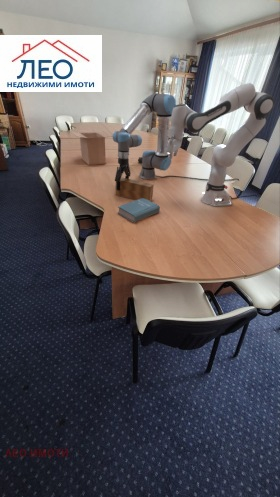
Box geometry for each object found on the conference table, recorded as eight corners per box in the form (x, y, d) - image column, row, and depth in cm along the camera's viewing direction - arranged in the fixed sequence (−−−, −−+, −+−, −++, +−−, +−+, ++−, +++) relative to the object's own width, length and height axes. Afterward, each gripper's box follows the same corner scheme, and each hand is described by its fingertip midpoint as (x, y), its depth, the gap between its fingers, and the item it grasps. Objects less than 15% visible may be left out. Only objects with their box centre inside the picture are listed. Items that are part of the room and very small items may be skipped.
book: (142, 204, 158) (143, 197, 155) (159, 212, 149) (160, 205, 146) (118, 213, 145) (118, 206, 142) (134, 223, 136) (135, 216, 133)
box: (116, 165, 229) (116, 136, 213) (83, 168, 214) (80, 137, 198) (102, 154, 259) (101, 128, 243) (71, 156, 244) (68, 129, 228)
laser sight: (157, 166, 235) (158, 156, 229) (137, 164, 238) (137, 154, 232) (158, 164, 242) (159, 154, 236) (138, 161, 245) (139, 152, 239)
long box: (115, 195, 169) (115, 179, 162) (119, 192, 173) (119, 176, 166) (149, 203, 161) (150, 186, 153) (152, 200, 165) (153, 184, 158)
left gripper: (119, 162, 143) (119, 193, 155) (135, 155, 162) (134, 183, 174) (109, 160, 145) (109, 191, 158) (126, 153, 164) (125, 181, 176)
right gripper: (176, 137, 131) (172, 161, 139) (184, 133, 146) (181, 155, 154) (166, 136, 133) (163, 160, 141) (175, 131, 148) (172, 153, 156)
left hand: (122, 187), depth 166 cm, fingers open, 13 cm apart
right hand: (172, 157), depth 148 cm, fingers open, 8 cm apart
